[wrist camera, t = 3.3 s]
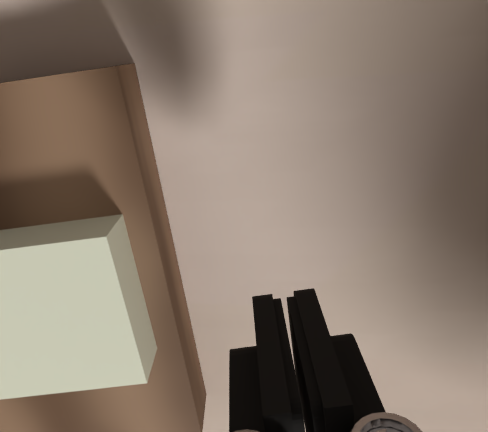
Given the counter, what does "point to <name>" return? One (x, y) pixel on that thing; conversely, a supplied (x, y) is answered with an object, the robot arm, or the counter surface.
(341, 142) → the counter surface
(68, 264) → the sage tile
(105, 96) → the walnut deck
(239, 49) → the counter surface
